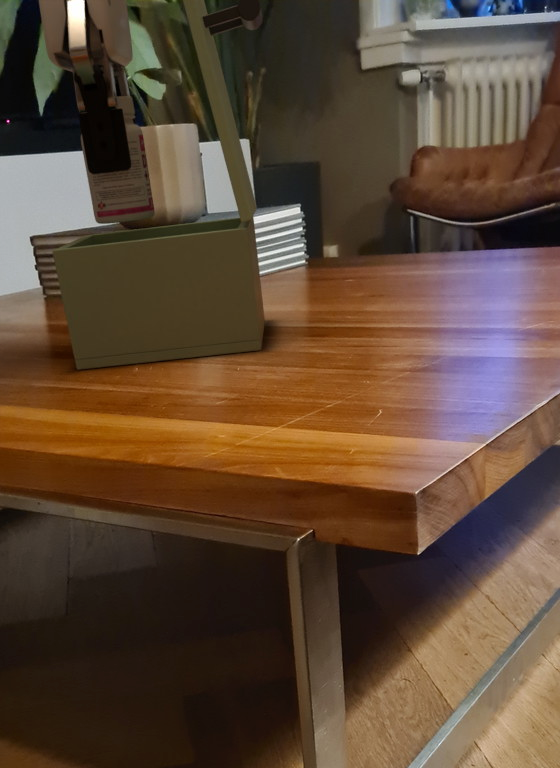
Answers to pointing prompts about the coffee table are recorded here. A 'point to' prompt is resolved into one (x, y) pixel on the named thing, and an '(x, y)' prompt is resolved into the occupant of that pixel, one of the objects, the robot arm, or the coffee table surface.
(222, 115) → the lid
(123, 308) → the bin
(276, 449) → the coffee table surface
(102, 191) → the pill bottle
